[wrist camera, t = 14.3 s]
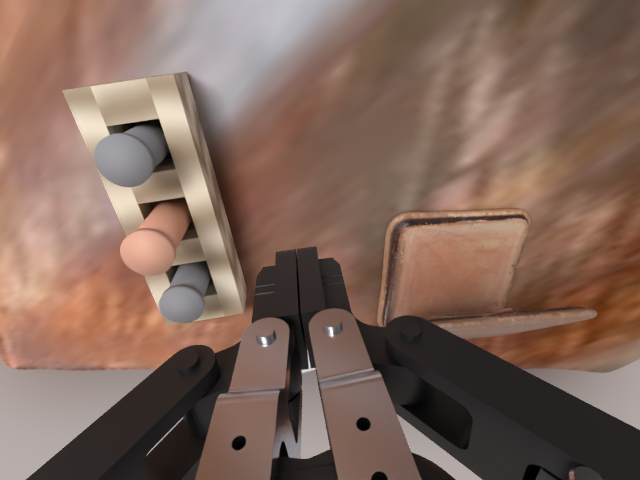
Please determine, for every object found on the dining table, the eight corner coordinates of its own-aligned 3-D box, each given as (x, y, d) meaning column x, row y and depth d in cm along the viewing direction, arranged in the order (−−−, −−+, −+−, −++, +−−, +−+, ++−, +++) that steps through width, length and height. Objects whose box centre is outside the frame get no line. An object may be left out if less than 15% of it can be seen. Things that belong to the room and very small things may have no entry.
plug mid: (148, 196, 40) (112, 236, 31) (189, 190, 40) (164, 228, 31) (162, 232, 42) (131, 279, 33) (201, 226, 42) (180, 271, 33)
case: (372, 331, 56) (405, 425, 42) (385, 210, 46) (433, 279, 32) (494, 323, 58) (563, 410, 44) (531, 204, 48) (636, 268, 34)
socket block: (88, 86, 36) (62, 90, 32) (186, 71, 36) (173, 74, 32) (176, 301, 49) (166, 325, 45) (247, 290, 50) (244, 313, 45)
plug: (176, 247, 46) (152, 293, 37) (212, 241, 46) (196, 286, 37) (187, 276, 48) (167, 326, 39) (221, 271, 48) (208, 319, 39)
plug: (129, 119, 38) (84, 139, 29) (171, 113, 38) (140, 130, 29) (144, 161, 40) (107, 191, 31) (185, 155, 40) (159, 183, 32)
